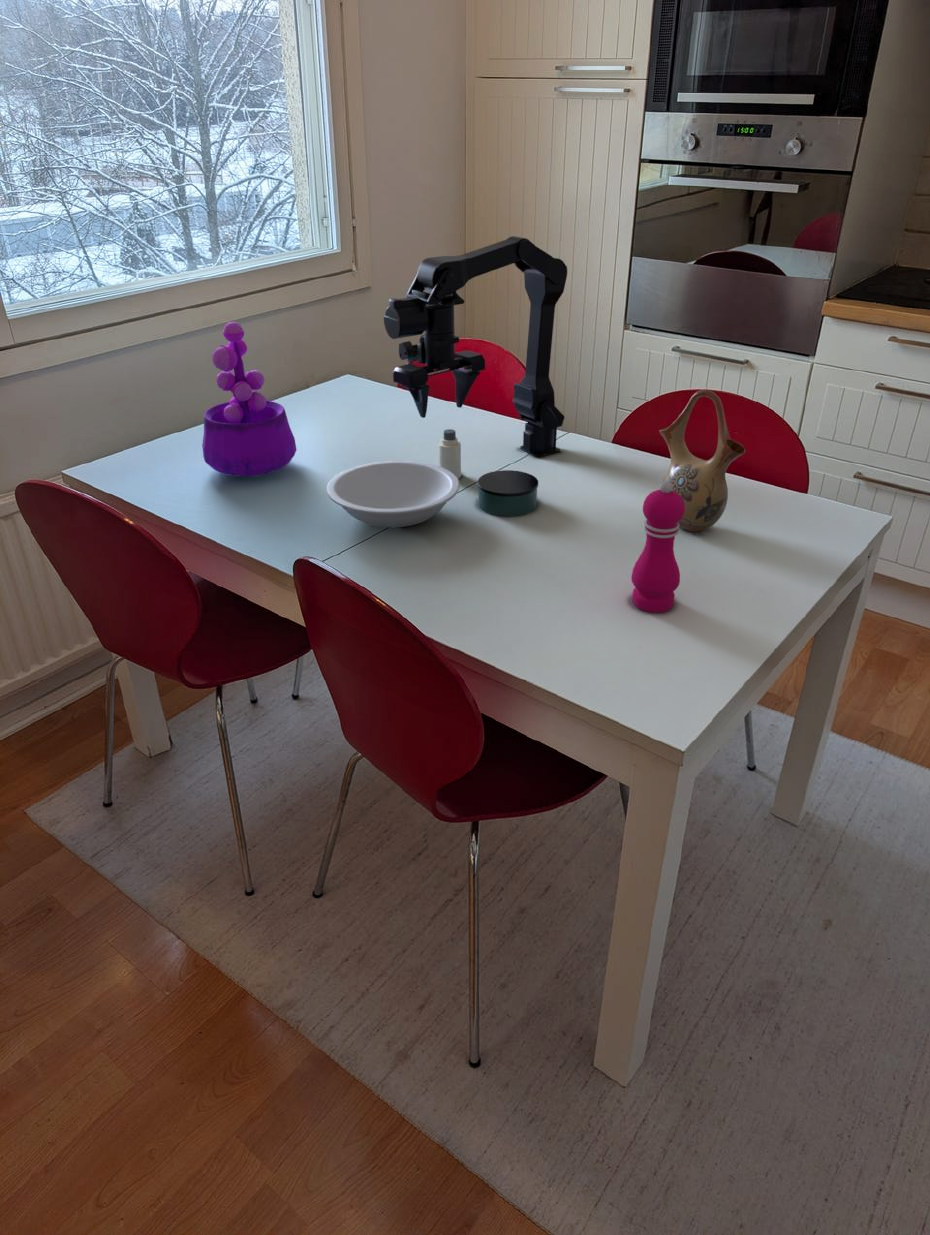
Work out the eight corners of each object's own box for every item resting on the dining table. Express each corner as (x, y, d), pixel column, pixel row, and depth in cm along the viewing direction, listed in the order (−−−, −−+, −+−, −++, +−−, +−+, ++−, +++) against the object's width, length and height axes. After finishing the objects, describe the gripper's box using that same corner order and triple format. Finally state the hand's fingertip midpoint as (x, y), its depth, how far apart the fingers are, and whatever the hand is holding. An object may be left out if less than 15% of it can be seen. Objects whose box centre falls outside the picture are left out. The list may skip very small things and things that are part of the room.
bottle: (453, 470, 184) (453, 426, 179) (464, 477, 181) (464, 432, 176) (435, 474, 182) (434, 430, 177) (446, 481, 179) (445, 436, 174)
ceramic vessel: (743, 533, 158) (767, 394, 145) (715, 549, 152) (737, 406, 140) (665, 506, 168) (681, 374, 155) (637, 521, 162) (651, 385, 150)
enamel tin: (515, 488, 176) (515, 466, 174) (549, 507, 168) (550, 485, 165) (466, 500, 171) (466, 478, 169) (499, 521, 163) (499, 498, 160)
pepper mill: (624, 592, 140) (635, 472, 130) (669, 590, 140) (684, 470, 130) (635, 615, 134) (648, 492, 123) (682, 613, 134) (699, 490, 124)
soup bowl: (305, 535, 158) (302, 500, 155) (364, 485, 178) (362, 454, 174) (430, 555, 151) (429, 520, 148) (477, 501, 170) (477, 469, 167)
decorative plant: (269, 492, 175) (249, 337, 160) (188, 481, 180) (161, 329, 165) (313, 459, 190) (298, 314, 175) (237, 449, 195) (216, 308, 180)
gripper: (449, 316, 177) (451, 393, 185) (373, 331, 167) (378, 412, 175) (487, 325, 170) (487, 405, 178) (409, 342, 159) (413, 426, 167)
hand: (441, 412), depth 175 cm, fingers open, 9 cm apart
